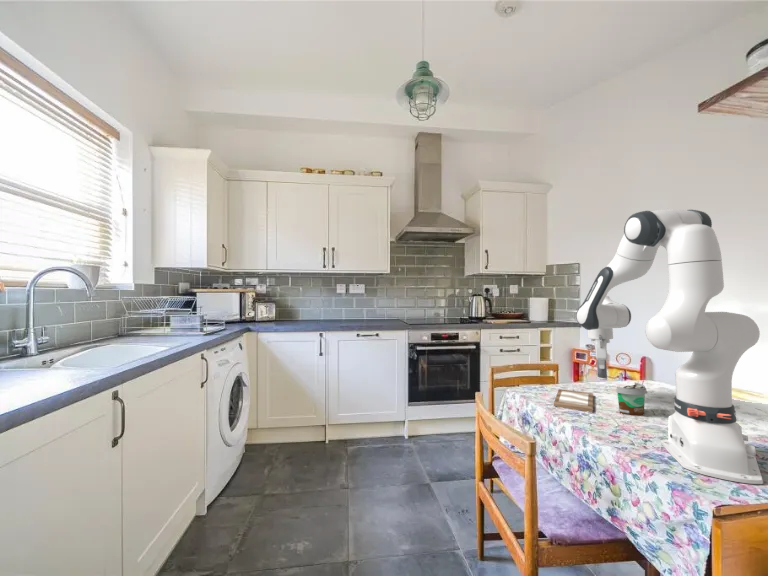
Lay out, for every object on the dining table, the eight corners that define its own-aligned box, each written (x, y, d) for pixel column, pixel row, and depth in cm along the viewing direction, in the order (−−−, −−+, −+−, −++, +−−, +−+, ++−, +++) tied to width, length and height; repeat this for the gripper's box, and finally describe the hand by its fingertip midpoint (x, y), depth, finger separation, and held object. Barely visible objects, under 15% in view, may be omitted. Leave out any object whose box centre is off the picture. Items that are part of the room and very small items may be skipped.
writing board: (592, 412, 120) (592, 408, 120) (553, 406, 127) (553, 403, 127) (592, 395, 138) (592, 392, 138) (558, 391, 146) (558, 388, 146)
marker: (607, 380, 131) (605, 350, 131) (597, 379, 132) (595, 350, 133) (607, 378, 133) (605, 349, 134) (597, 377, 135) (595, 348, 136)
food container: (635, 419, 112) (634, 391, 113) (617, 413, 118) (615, 386, 118) (655, 413, 117) (654, 386, 118) (636, 408, 123) (635, 382, 123)
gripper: (610, 337, 123) (612, 373, 123) (608, 332, 140) (610, 363, 140) (590, 336, 127) (592, 371, 126) (591, 331, 144) (593, 362, 143)
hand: (601, 367), depth 133 cm, fingers closed on marker, 3 cm apart
